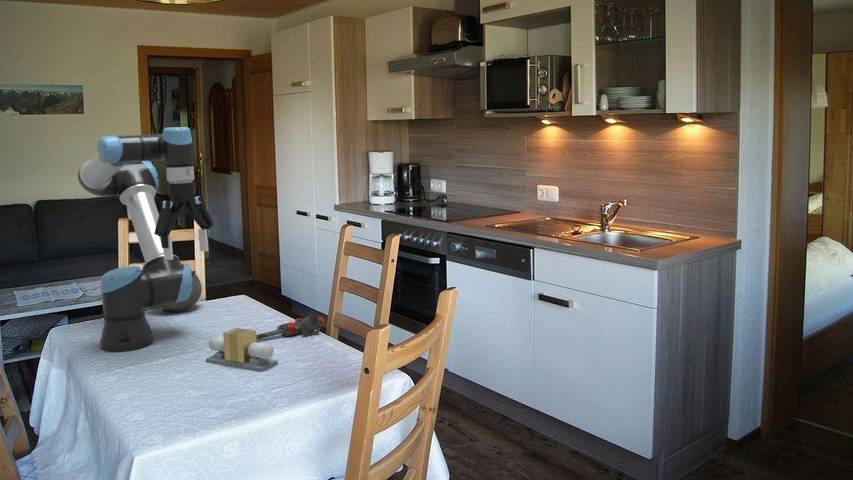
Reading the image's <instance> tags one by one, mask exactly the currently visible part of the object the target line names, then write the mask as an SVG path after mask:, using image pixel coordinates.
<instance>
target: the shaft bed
mask: <svg viewBox="0 0 853 480" xmlns="http://www.w3.org/2000/svg"><path fill="white" fill-rule="evenodd" d="M208 348H209V349H210V350H212V351H215V352H214V353H213V355H211V356H209V357H206V358H205V362H206V363H211V364H214V365H215V364H216V365H220V366H226V367H233V368H237V369H243V370H249V371H255V372H260V373H262V372H263V371H266V370H268V369H270V368H272V367H274V366H276V365H278V364H279V360H277V359H272V357H273V355H274V346H273V345H271V344H267V343H264V342H257V343H256V342H253V343H251V344H250V345H249V348H248V354H249V355H250V356H251V357H254V358H252V359H250V362H248V363H246V364H241V363H235V362H229V361H225V352H224V338H223V336H216V335H213V336H211V337H210V339H209V340H208Z"/></svg>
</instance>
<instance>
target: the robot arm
mask: <svg viewBox="0 0 853 480" xmlns="http://www.w3.org/2000/svg"><path fill="white" fill-rule="evenodd" d="M162 131H163V132H162V133H157V134H135V135H133V134H132V135H108V136H100V138H99V139H98V141H97V142H98V143H97V154H96V155H95V156H94V157H93V158H92V159H90V160H88V161H85V162H84V163H83V164H82V165H81V166H80V168H79V169H78V172H77V180H78V183H79V185H80V186H81V188H82V189H84V191H86V192H88V193H89V194H91V195H94V196H98V197H105V198H107V197H118V198H119V201H120V202H121V204H122V205H125V206H126V207H127V209H128V212H129V216H130V219H131V222H132V225H133V228H134V232H135V234H136V237H137V241H138V244H139V247H140V250H141V253H142V256H143V257H142V258H143V260H144V262H145V263H144V264H143V266H142V268H141V267H140V266H138V265H129V266H123V267H122V266H121V267H118V268H115V269H111V270H108V271H107V272H105V273H104V274H103V275H102V276H101V278H100V292H101V293H100V294H101V301H102V310H103V320H104V323H103V327H102V331H101V332H102V333H101V337H100V339H99V344H100V349H101V350H103V351H106V352H127V351H133V350H138V349H142V348H145V347H147V346H150V345H151V344H153V343H154V334H153V331H152V328H151V327H150V325H149V322H148V320H147V317H146V310H145V309H146V308H151V307H156V306H157V307H158V305H164V304H170V303H177V302H180V301H184V300H187V299H188V298H189V296H190V294H191V291H192V273H191V272H192V271H191V270H192V269H191V267H190V265H189V264H188V263H181V260H180V257H179V256H177V255H175V254H174V253H173V239H172V236H170V233H171V232H172V230H173V227H174V226H175V224H176V222H177V220H178V218H180V217H181V216H183V215H189V216H190V217H191V218H192V219H193V221H194V222H195V223H196V225H198V227H199V229H197V230H198V231H197V232H198V233H197V234H198V244H199V251H200V252H209V242H208V240H209V238H210V237H209V230H211V228H212V227H213V226H214V222H213V220H212V218H211V215H210V214H209V210H208V209H207V207H206V205H205V201H204V197H203V196H199V195H198V196H197V195H196V194H197V191H196V183H195V181H194V180H195V168H194V155H193V138H192V131H191V128H189V127H187V126H185V127H184V126H183V127H181V126H179V127H178V126H176V127H164V129H163V130H162ZM156 161H165V170H166V171H165V172H166V174H165V175H166V181H167V182H168V183H167V195H168V196H169V199H170V200H161V201H160V211H158V208H157V205H156V201H155V199H154V198H155V197H156V194H157V192H158V190H159V185H160V183H159V181H160V180H159V178H158V177H159V176H158V172H157V170H156V168H155V166H154V164H153V163H152V162H156Z"/></svg>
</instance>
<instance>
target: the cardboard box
mask: <svg viewBox="0 0 853 480" xmlns="http://www.w3.org/2000/svg"><path fill="white" fill-rule="evenodd" d="M256 335H257V330H253V329H247V328H241V327H235V328H233V329H230V330H228V331H225V332H223V333H222V337H223V338H224V352H225V361H229V362H235V363H241V364H246V363H248V362H250V359H252V358H254V357H251V356H250V355H249V354H248V348H249V345H250V344H251V343H253V342H256V343H258V340H257V337H256Z"/></svg>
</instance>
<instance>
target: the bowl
mask: <svg viewBox="0 0 853 480" xmlns="http://www.w3.org/2000/svg"><path fill="white" fill-rule="evenodd" d="M191 273H192V291H191V294H190V296H189V298H188V299H187V300H184V301H180V302H177V303H170V304H164V305H158V306H157V307H158V308H160V309H162V310H165V311H168V312H173V313H174V311H175V313H177V312H176V311H178V312H183V311H184V312H185V311H186V310H188V309H190V308H191V307H193V306H195V304H197V303H198V301H199V299H200V298H201V296H202V292H203V291H202V290H203V288H202V283H201V280H200V278H199V276H198V275H197V274H196V273H195V272H192V271H191Z"/></svg>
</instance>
